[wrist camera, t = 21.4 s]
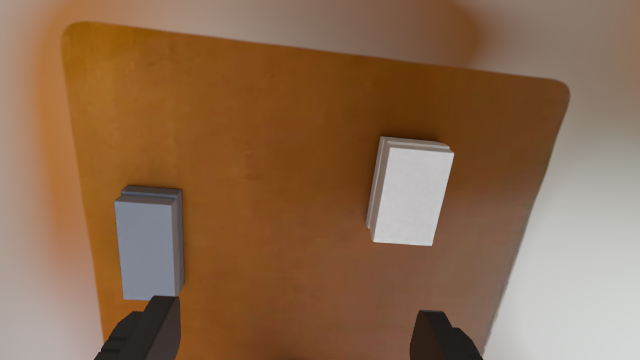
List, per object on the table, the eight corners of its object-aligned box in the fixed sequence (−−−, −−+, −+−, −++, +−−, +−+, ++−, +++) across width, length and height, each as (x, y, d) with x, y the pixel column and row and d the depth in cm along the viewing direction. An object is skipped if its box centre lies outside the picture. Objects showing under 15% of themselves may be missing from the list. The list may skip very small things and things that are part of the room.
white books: (380, 134, 37) (386, 140, 34) (439, 139, 37) (449, 146, 35) (365, 222, 40) (370, 234, 37) (419, 226, 41) (427, 238, 38)
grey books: (127, 185, 37) (112, 197, 34) (181, 189, 38) (171, 201, 35) (135, 281, 41) (123, 299, 38) (184, 283, 42) (175, 302, 39)
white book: (386, 143, 34) (390, 147, 33) (448, 148, 35) (454, 153, 33) (370, 234, 38) (373, 242, 36) (426, 238, 38) (431, 246, 37)
